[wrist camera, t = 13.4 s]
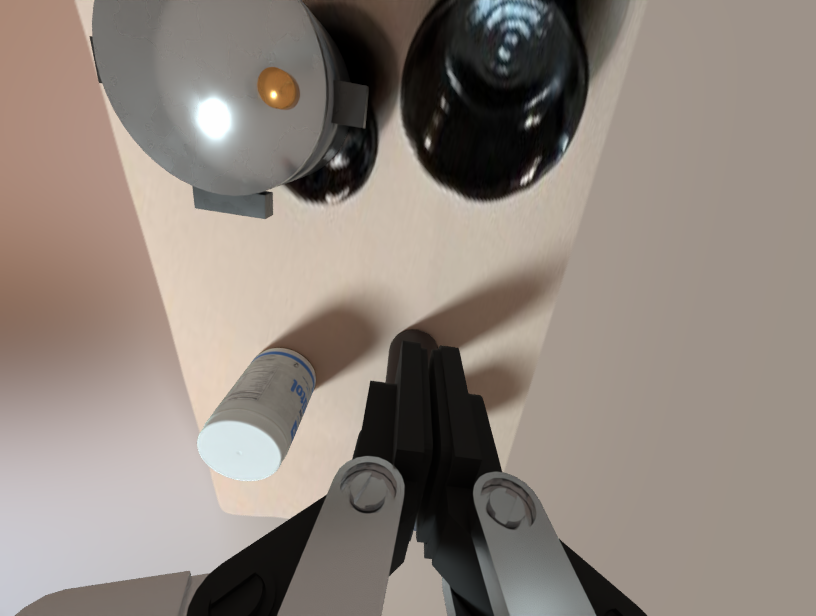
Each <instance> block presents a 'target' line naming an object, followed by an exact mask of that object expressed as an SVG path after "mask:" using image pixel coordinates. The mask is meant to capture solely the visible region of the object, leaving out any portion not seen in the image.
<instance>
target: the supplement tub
mask: <svg viewBox="0 0 816 616" xmlns="http://www.w3.org/2000/svg"><path fill="white" fill-rule="evenodd" d="M315 384H316V375H315V371H314V369H313V367H312V365H311V364H310V363H309V362H308V360H307V359H306V358H304V357H303V356H302V355H300V354H299V353H297V352H295V351H292V350H289V349H285V348H272V349H268V350H265V351H263V352H261V353H260V354H259V355H257V356H256V357H255V358H254V360H253V361H252V362H251V364H250V365H249V366H248V368H247V369H246V370H245V371H244V373H243V374H242V375H241V377H240V378H239V379H238V381H237V382H236V383H235V385H234V386H233V387H232V389H231V390H230V391H229V393H228V394H227V395H226V397H225V398H224V399H223V400H222V402H221V403H220V404H219V406H218V407H217V408H216V410H215V411H214V412H213V414H212V415H211V416H210V418H209V419H208V420H207V422H206V423H205V425H204V428H203V429H202V431H201V432H200V434H199V436H198V440H197V447H198V451H199V453H200V455H201V457H202V459H203V460H204V461H205V463H206V464H207V465H208V466H209V467H210V468H212V469H213V470H214V471H216V472H218V473H219V474H221V475H223V476H226V477H228V478H231V479H235V480H241V481H257V480H261V479H265V478H267V477H269V476H271V475H272V474H274V473H275V472H276V471H277V470H278V468H279V467H280V465H281V463H282V461H283V460H284V458H285V456H286V455H287V452H288V450H289V448H290V446H291V443H292V441H293V439H294V436H295V434H296V431H297V429H298V427H299V424H300V422H301V419H302V417H303V415H304V412H305V410H306V407H307V405H308V403H309V400H310V398H311V395H312V393H313V390H314V388H315Z"/></svg>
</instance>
